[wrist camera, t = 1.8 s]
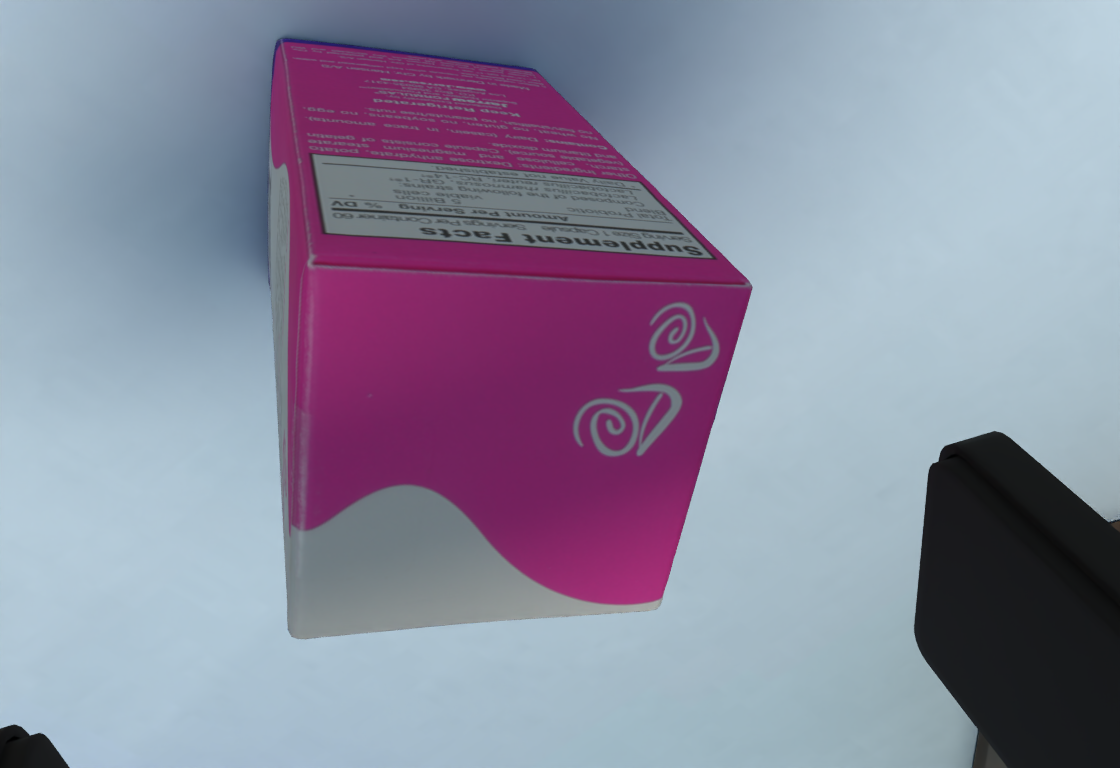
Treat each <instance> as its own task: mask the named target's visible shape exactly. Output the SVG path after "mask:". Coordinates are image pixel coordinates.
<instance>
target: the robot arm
mask: <svg viewBox="0 0 1120 768" xmlns="http://www.w3.org/2000/svg"><path fill="white" fill-rule="evenodd" d="M914 633H915V638H916V642H917V644H918V647H919V650H920V652H921V654H922V656H923V657H924V659H925V660H926V662H927V663H928V664H929V666H930V667H931V668H932V670H933V671H934V672H935V674H936V675H937V676H938V678H939V679H940V680H941V681H942V683H943V684H944V685H945V687H946V688H947V689H948V691H949V692H950V693H951V694H952V696H953V697H954V698H955V700H956V701H957V702H958V704H959V705H960V706H961V708H962V709H963V710H964V711H965V713H966V714H967V715H968V717H969V718H970V719H971V721H972V722H973V723H974V725H975V726H976V727H977V728H978V730H979V731H980V732H981V734H982V735H983V736H984V738H985V739H986V740H987V742H988V743H989V744H990V745H991V747H992V748H993V749H994V751H995V752H996V753H997V755H998V756H999V757H1000V759H1001V760H1002V761H1003V762H1004V764H1005V765H1006V766H1007V768H1120V532H1119V531H1118V530H1116V529H1115V528H1114V527H1113V526H1112V525H1111V524H1109V523H1108V522H1107V521H1106V520H1105V519H1104V518H1102V517H1101V516H1100V515H1099V514H1098V513H1097V512H1095V511H1094V510H1093V509H1092V508H1091V507H1090V506H1089V505H1087V504H1086V503H1085V502H1084V501H1083V500H1082V499H1080V498H1079V497H1078V496H1077V495H1076V494H1075V493H1073V492H1072V491H1071V490H1070V489H1069V488H1068V487H1066V486H1065V485H1064V484H1063V483H1062V482H1061V481H1059V480H1058V479H1057V478H1056V477H1055V476H1054V475H1052V474H1051V473H1050V472H1049V471H1048V470H1047V469H1045V468H1044V467H1043V466H1042V465H1041V464H1040V463H1039V462H1037V461H1036V460H1035V459H1034V458H1033V457H1032V456H1030V455H1029V454H1028V453H1027V452H1026V451H1025V450H1023V449H1022V448H1021V447H1020V446H1019V445H1018V444H1016V443H1015V442H1014V441H1013V440H1012V439H1011V438H1009V437H1008V436H1006V435H1005V434H1003V433H1001V432H996V431H993V432H990V433H987V434H983V435H980V436H977V437H973V438H970V439H967V440H963V441H960V442H957V443H953V444H950V445H947V446H945V447H944V448H943V449H942V451H941V453H940V457H939V462H937V463H933V464H932V465H931V467H930V469H929V473H928V482H927V493H926V504H925V515H924V526H923V537H922V548H921V558H920V569H919V580H918V591H917V602H916V613H915V624H914ZM0 768H69V766H68V765H67V764H66V762H65V761H64V759H63V758H62V757H61V755H60V754H59V752H58V751H57V750H56V748H55V747H54V745H53V744H52V743H51V741H50V740H49V739H48V738H47V737H46V736H45V735H44V734H41V733H37V734H34V735H31V736H30V735H29V734H28V733H27V732H26V731H25V730H24V729H23V728H22V727H20V726H17V725H11V726H7V727H4V728H1V729H0Z"/></svg>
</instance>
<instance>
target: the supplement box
mask: <svg viewBox="0 0 1120 768" xmlns="http://www.w3.org/2000/svg"><path fill="white" fill-rule="evenodd" d="M268 271H269V286H270V291H271V305H272V319H273V339H274V357H275V375H276V392H277V413H278V434H279V455H280V474H281V494H282V513H283V533H284V552H285V570H286V588H287V621H288V631H289V633H290V635H291V637H294V638H297V639H311V638H319V637H331V636H341V635H351V634H360V633H371V632H382V631H392V630H402V629H412V628H421V627H432V626H444V625H454V624H465V623H480V622H492V621H504V620H521V619H536V618H551V617H569V616H582V615H598V614H613V613H627V612H640V611H650V610H655V609H658V607H659V606H660V604H661V602H662V599H663V593H664V590H665V587H666V584H667V581H668V578H669V574H670V571H671V567H672V563H673V559H674V556H675V553H676V550H677V546H678V543H679V539H680V536H681V533H682V529H683V526H684V522H685V519H686V515H687V512H688V508H689V505H690V501H691V498H692V494H693V491H694V488H695V484H696V481H697V477H698V474H699V470H700V467H701V463H702V460H703V456H704V452H705V449H706V445H707V442H708V438H709V435H710V431H711V428H712V425H713V422H714V420H715V416H716V412H717V408H718V405H719V401H720V398H721V394H722V391H723V387H724V384H725V381H726V377H727V374H728V371H729V367H730V364H731V361H732V357H733V354H734V350H735V347H736V343H737V340H738V336H739V333H740V329H741V326H742V323H743V319H744V316H745V313H746V309H747V306H748V302H749V298H750V295H751V291H752V285H751V283H750V282H749V280H748V279H747V278H746V277H745V276H744V275H743V274H742V273H740V272H739V271H738V270H737V269H736V268H735V267H734V266H733V265H732V264H731V263H730V262H729V261H728V260H727V259H726V258H725V257H724V256H723V255H722V253H721V252H719V251H718V250H717V249H716V248H715V247H714V246H713V245H712V244H711V243H710V242H709V241H708V240H707V239H706V238H705V237H704V236H703V235H702V234H701V233H700V232H699V231H698V230H697V229H696V228H695V227H694V226H693V225H692V224H691V223H690V222H689V221H688V220H687V219H686V218H685V217H684V216H683V215H682V214H681V213H680V212H679V211H678V210H677V209H676V208H675V207H674V206H673V205H672V204H671V203H670V202H669V201H668V200H666V199H665V198H664V197H663V196H662V195H661V194H660V193H659V192H658V190H657V189H656V188H655V187H654V186H653V185H652V184H651V183H650V182H648V181H647V180H646V179H645V178H644V177H643V176H642V175H641V174H640V173H639V172H638V171H637V170H636V169H635V168H634V167H633V166H632V165H631V164H630V163H629V162H628V161H627V160H626V159H625V158H624V157H623V156H622V155H621V154H620V153H618V152H617V151H616V150H615V148H614V147H613V146H612V145H610V144H609V143H608V142H607V141H606V140H605V139H604V138H603V137H602V136H601V135H600V134H599V133H598V132H597V131H596V130H595V129H594V128H593V127H592V126H591V125H590V124H589V123H588V122H587V121H586V120H585V119H584V118H583V117H582V116H581V115H580V114H579V113H578V112H577V111H576V110H575V109H574V108H573V107H572V106H571V105H570V104H569V103H568V102H567V101H566V100H565V99H564V98H563V97H562V96H561V95H560V94H559V93H558V92H557V91H556V90H555V89H554V88H553V87H552V86H551V85H550V84H549V83H548V82H547V81H546V80H545V79H544V78H543V77H542V76H541V75H540V74H539V73H538V72H537V71H536V70H535V69H532V68H526V67H519V66H509V65H502V64H495V63H487V62H478V61H470V60H463V59H455V58H448V57H440V56H433V55H425V54H417V53H409V52H401V51H393V50H386V49H377V48H369V47H361V46H353V45H344V44H336V43H327V42H318V41H308V40H298V39H288V38H285V39H280V40H278V41H277V42H276V45H275V51H274V57H273V68H272V84H271V107H270V133H269V170H268Z"/></svg>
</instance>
